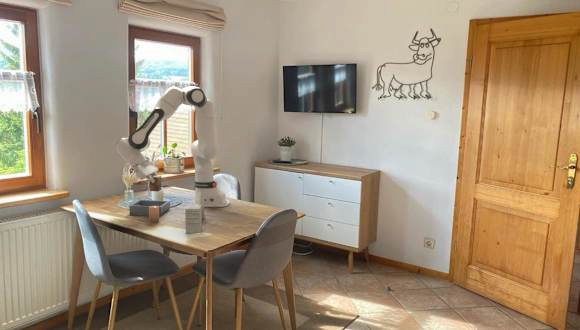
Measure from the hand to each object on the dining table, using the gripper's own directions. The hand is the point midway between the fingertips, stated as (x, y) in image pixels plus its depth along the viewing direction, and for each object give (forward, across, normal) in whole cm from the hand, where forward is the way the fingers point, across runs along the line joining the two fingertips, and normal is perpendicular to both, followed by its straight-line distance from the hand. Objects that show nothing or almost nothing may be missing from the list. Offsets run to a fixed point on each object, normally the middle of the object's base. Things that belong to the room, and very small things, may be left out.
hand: (156, 180), depth 248 cm
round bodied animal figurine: (+31, -12, -5) cm, 33 cm away
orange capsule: (+16, -18, +9) cm, 26 cm away
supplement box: (+34, -31, -8) cm, 47 cm away
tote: (+10, 0, +16) cm, 19 cm away
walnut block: (+3, 0, +4) cm, 5 cm away
